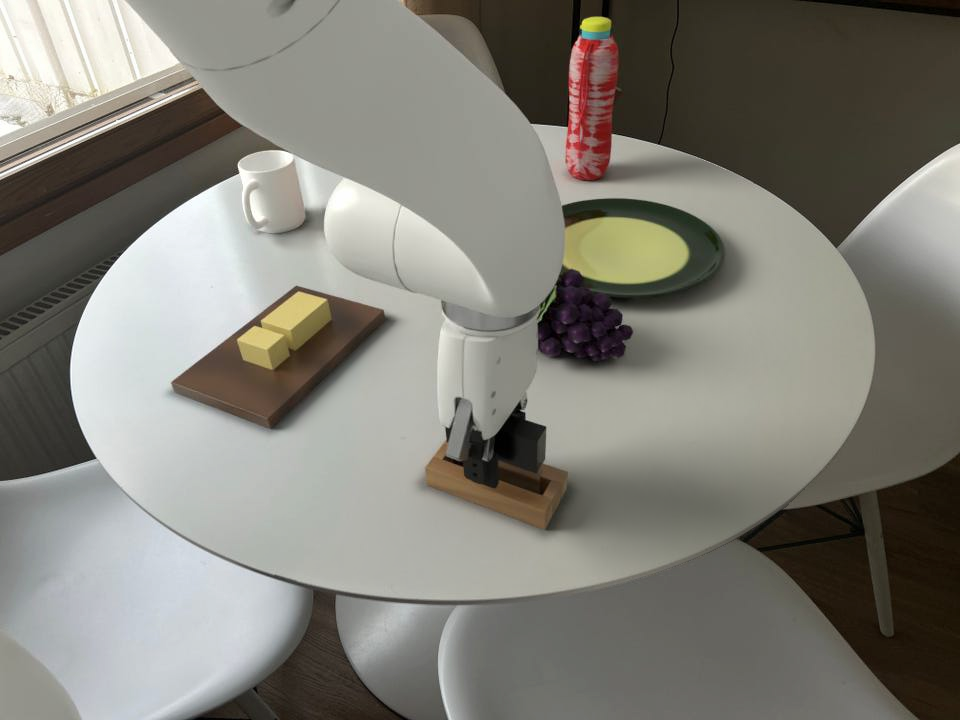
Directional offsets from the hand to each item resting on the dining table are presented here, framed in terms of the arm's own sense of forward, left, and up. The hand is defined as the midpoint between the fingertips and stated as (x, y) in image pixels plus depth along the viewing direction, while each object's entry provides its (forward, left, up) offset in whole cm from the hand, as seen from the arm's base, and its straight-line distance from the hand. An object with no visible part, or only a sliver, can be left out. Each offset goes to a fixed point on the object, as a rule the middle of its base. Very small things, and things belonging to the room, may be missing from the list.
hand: (495, 458), depth 63 cm
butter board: (+8, +32, -4) cm, 33 cm away
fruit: (+23, +2, -4) cm, 23 cm away
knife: (0, 0, -4) cm, 4 cm away
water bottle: (+72, +17, -4) cm, 74 cm away
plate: (+46, +3, -4) cm, 46 cm away
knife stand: (0, 0, -4) cm, 4 cm away
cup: (+33, +55, -4) cm, 64 cm away
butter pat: (+5, +32, -2) cm, 32 cm away
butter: (+11, +32, -2) cm, 34 cm away
